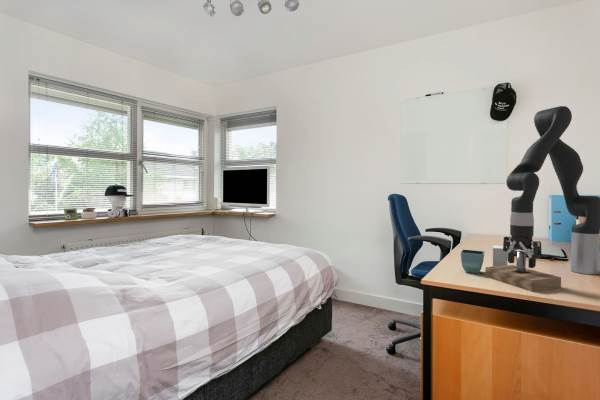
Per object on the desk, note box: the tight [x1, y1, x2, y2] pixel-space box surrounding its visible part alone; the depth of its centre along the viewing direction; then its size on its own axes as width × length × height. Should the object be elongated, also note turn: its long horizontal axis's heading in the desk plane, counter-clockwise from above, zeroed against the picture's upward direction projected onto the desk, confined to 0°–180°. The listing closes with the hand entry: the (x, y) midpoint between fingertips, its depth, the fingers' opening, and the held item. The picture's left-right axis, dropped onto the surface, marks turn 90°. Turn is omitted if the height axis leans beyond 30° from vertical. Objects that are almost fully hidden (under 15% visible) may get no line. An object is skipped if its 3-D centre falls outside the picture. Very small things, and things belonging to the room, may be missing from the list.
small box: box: [492, 245, 508, 267], centre depth 144 cm, size 8×6×10 cm
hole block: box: [484, 264, 562, 292], centre depth 125 cm, size 20×14×4 cm
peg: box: [515, 250, 527, 274], centre depth 125 cm, size 3×3×12 cm
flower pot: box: [460, 248, 485, 274], centre depth 141 cm, size 9×9×9 cm
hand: (521, 265), depth 125 cm, fingers open, 8 cm apart
